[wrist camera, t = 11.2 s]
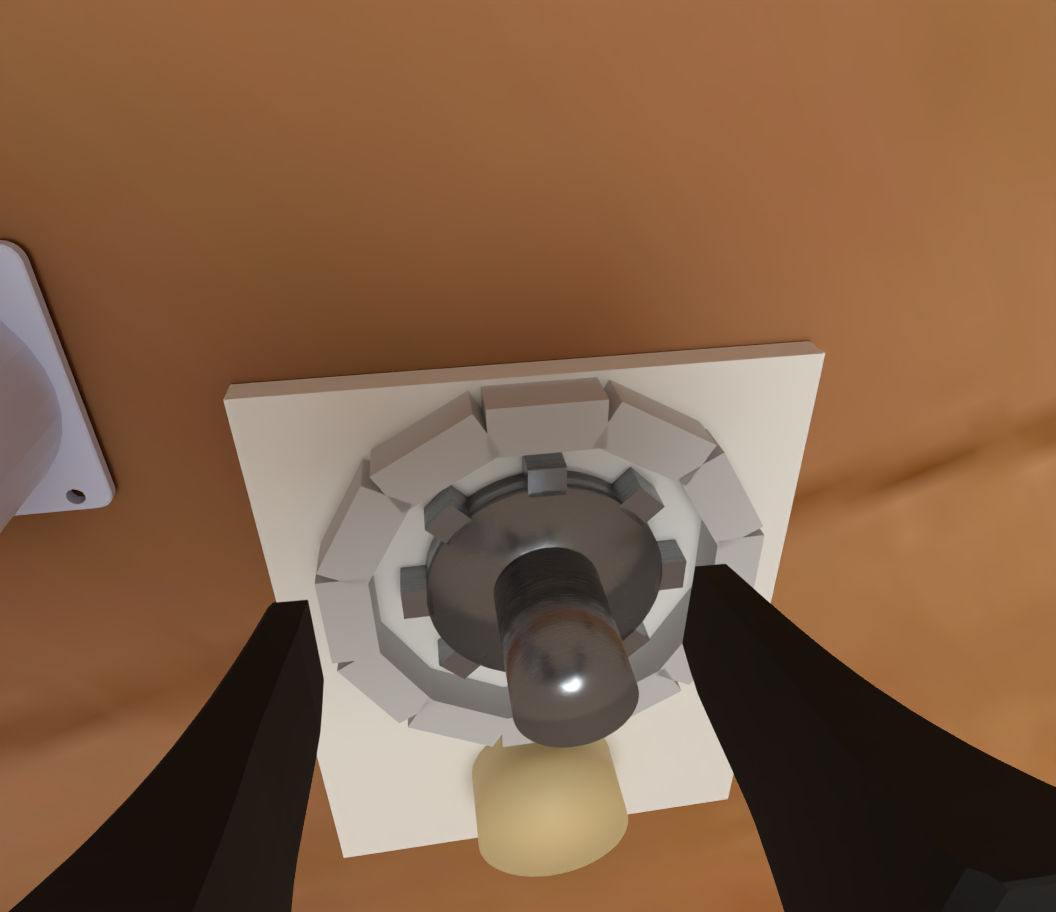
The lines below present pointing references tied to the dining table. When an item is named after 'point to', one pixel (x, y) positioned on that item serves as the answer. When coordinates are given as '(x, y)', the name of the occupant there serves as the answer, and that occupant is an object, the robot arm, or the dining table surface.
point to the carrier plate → (401, 541)
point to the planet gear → (547, 592)
